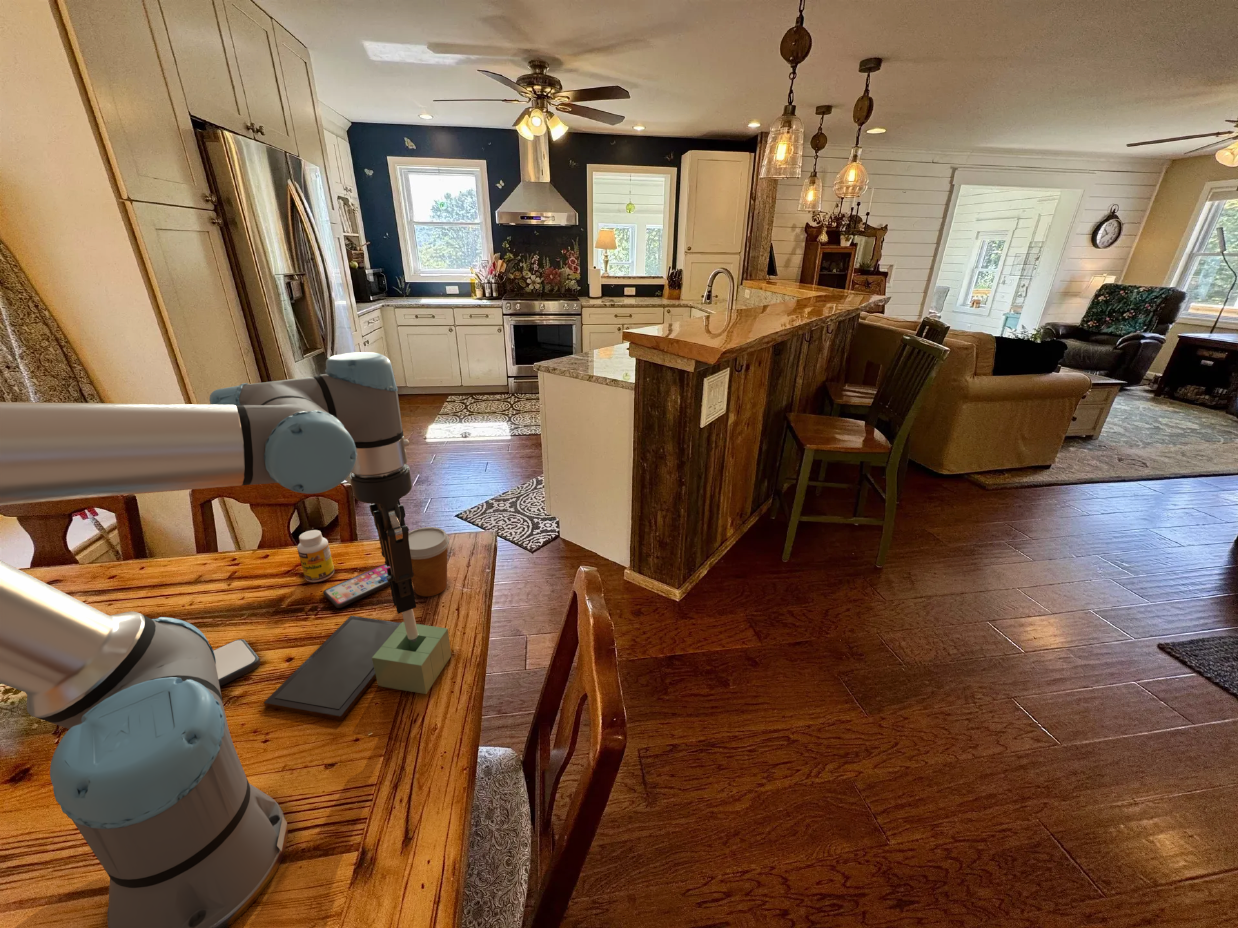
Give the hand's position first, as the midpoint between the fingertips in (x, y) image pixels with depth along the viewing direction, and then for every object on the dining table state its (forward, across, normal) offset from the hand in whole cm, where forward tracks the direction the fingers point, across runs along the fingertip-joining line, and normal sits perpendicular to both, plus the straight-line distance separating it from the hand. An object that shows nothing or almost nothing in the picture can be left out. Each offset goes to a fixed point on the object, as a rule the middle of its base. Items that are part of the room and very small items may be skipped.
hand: (404, 604), depth 77 cm
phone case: (+14, +17, +30) cm, 37 cm away
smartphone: (+14, +29, +2) cm, 32 cm away
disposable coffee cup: (+14, +21, -8) cm, 27 cm away
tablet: (+13, +8, +9) cm, 18 cm away
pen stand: (+13, 0, 0) cm, 13 cm away
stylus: (+7, 0, 0) cm, 7 cm away
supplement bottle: (+14, +38, +10) cm, 42 cm away
